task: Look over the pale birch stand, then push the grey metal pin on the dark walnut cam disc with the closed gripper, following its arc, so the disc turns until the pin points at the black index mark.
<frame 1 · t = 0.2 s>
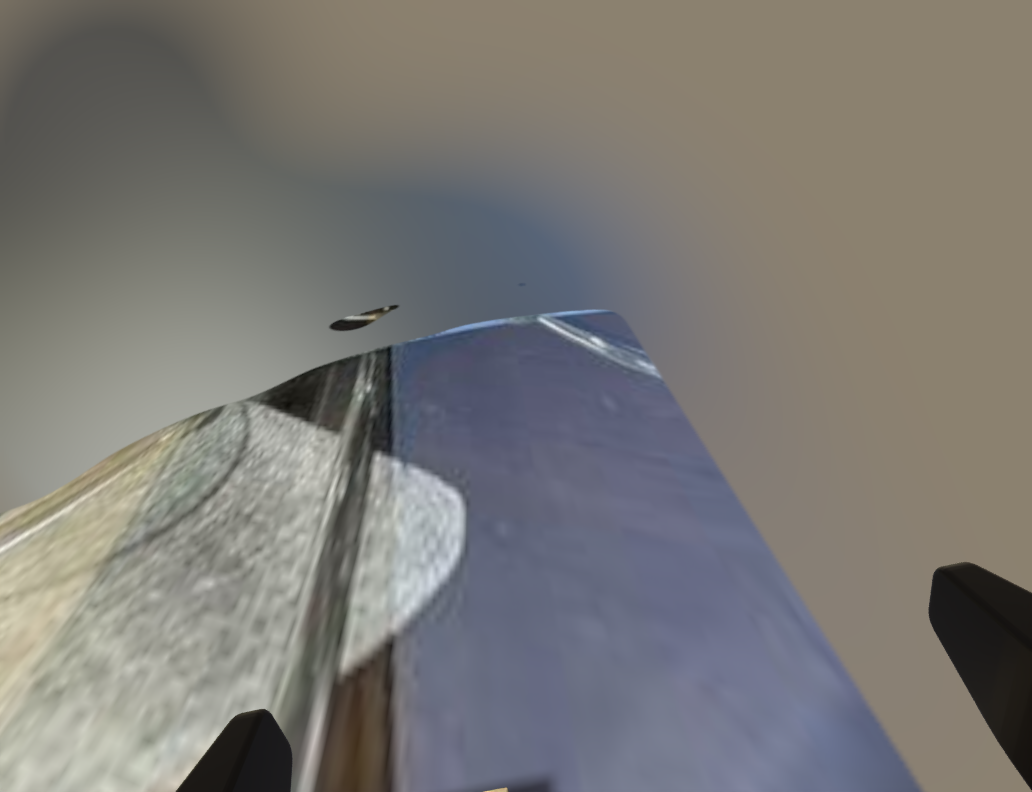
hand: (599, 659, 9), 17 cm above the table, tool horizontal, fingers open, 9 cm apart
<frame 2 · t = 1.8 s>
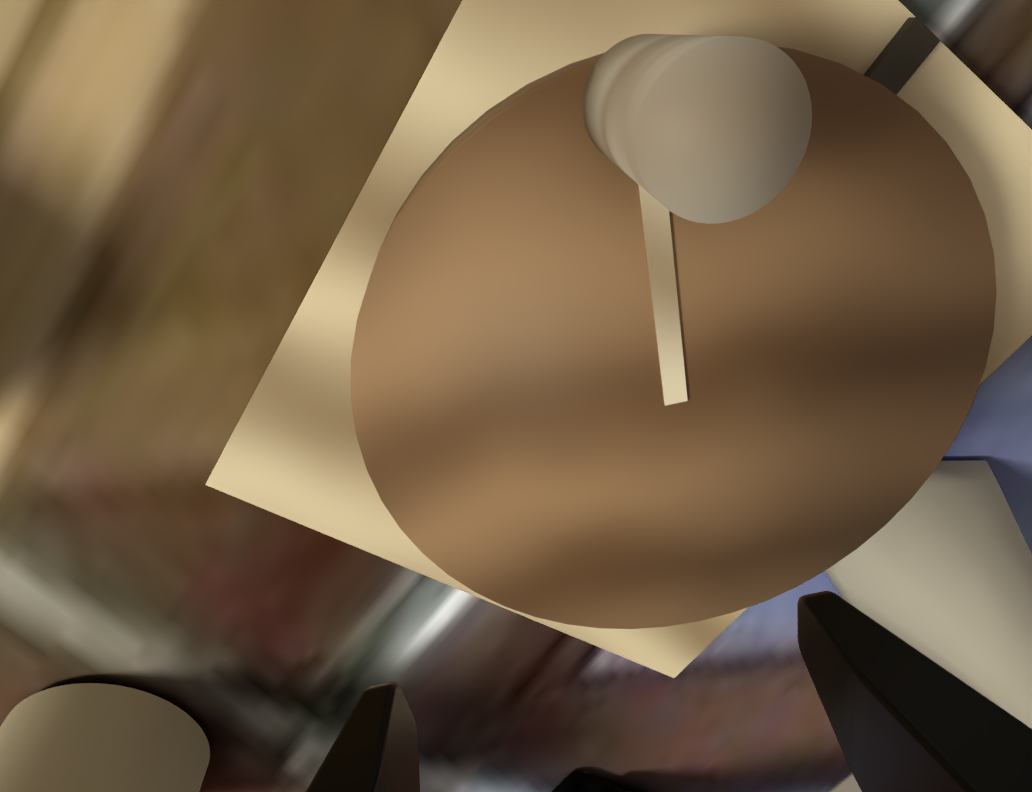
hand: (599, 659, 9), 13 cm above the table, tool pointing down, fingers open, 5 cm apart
cam disc: (692, 425, 17), point 5 cm above the table, hinge at 45.0°
stand: (641, 343, 21), on the table
flask: (904, 527, 26), on the table
travel mug: (115, 735, 28), on the table
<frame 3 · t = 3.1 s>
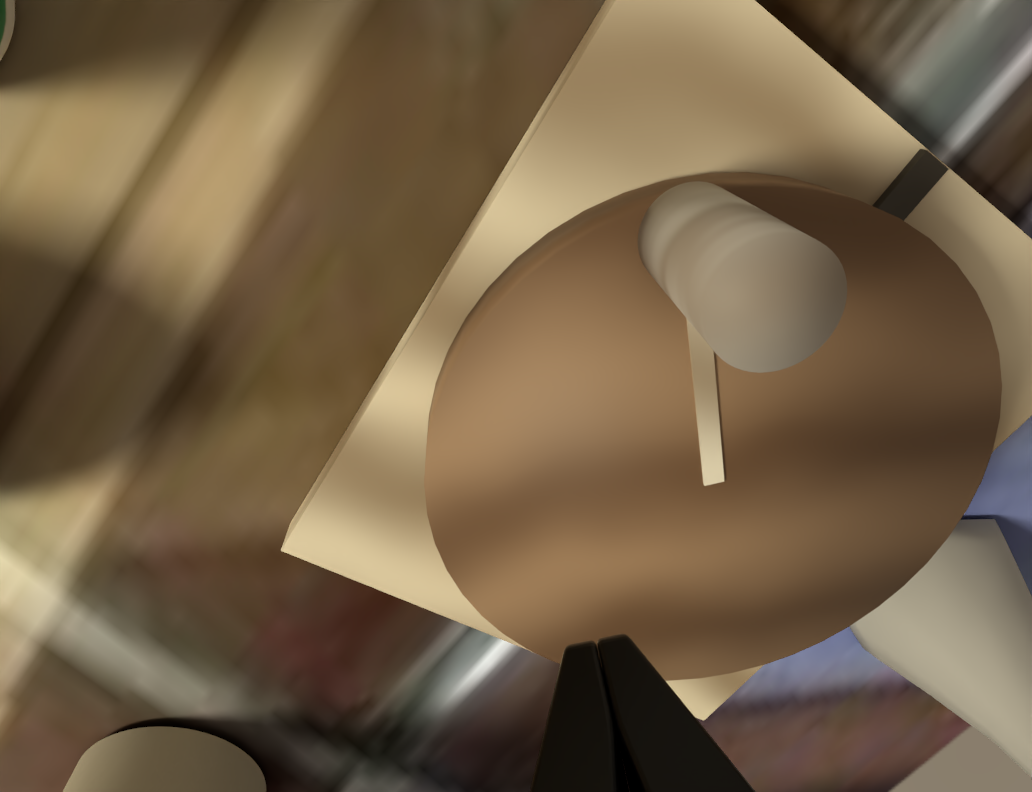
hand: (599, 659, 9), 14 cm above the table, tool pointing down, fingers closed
cam disc: (731, 508, 19), point 5 cm above the table, hinge at 45.0°
stand: (676, 418, 23), on the table
flask: (918, 578, 28), on the table
travel mug: (177, 773, 30), on the table
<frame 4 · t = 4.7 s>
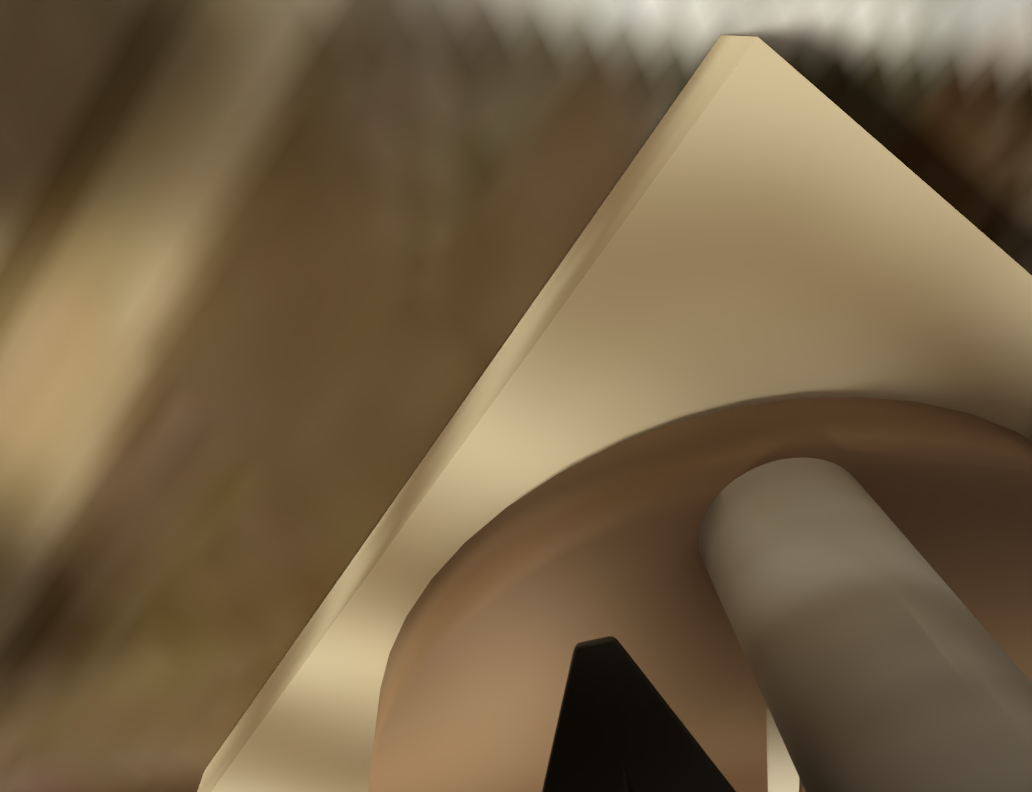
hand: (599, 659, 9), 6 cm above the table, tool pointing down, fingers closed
stand: (721, 652, 17), on the table
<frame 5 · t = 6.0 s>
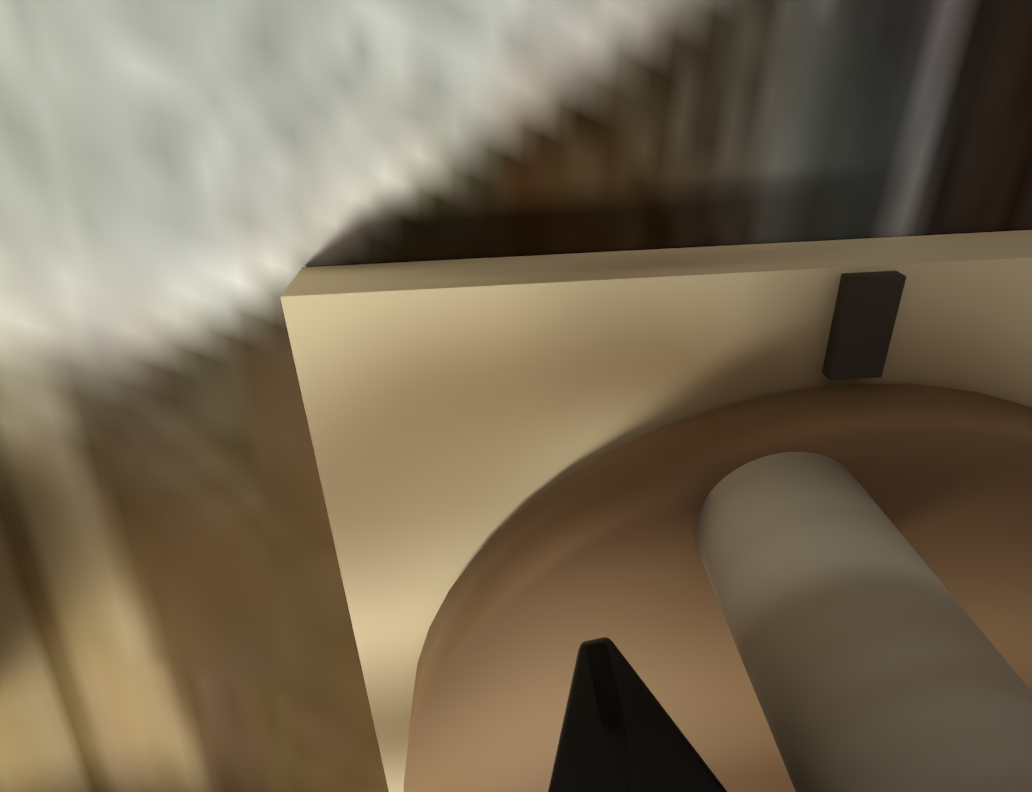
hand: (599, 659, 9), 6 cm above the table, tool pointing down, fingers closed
stand: (753, 645, 17), on the table
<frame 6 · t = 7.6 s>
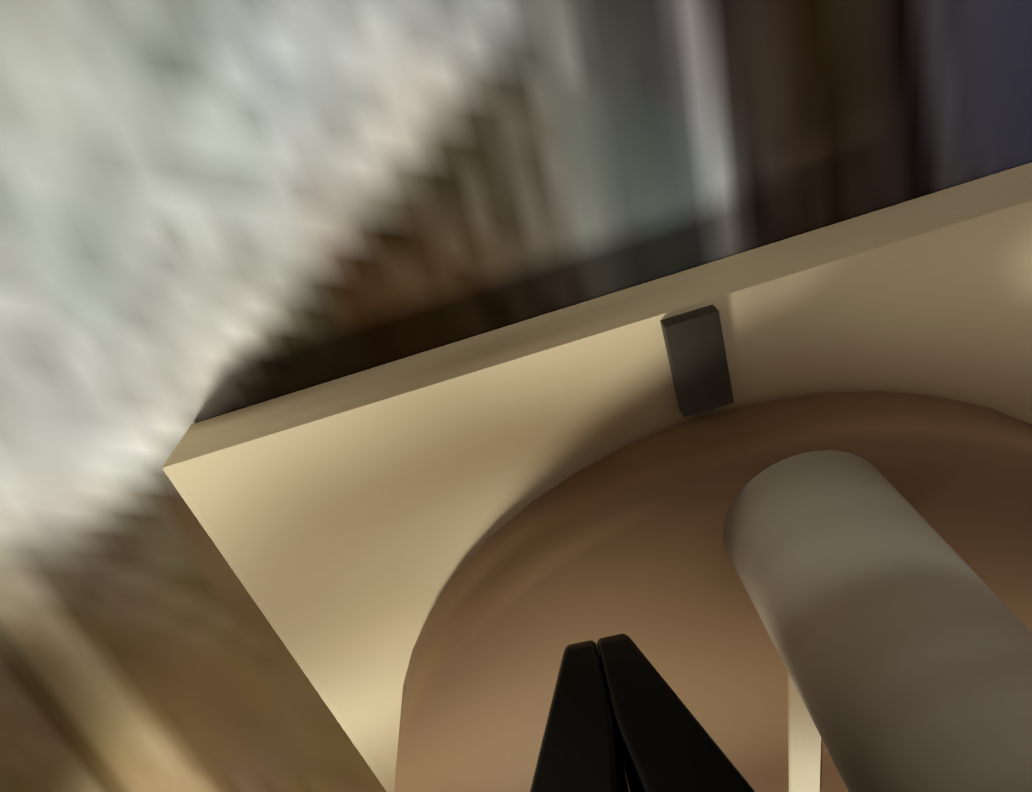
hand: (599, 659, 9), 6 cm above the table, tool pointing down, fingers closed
stand: (737, 647, 17), on the table
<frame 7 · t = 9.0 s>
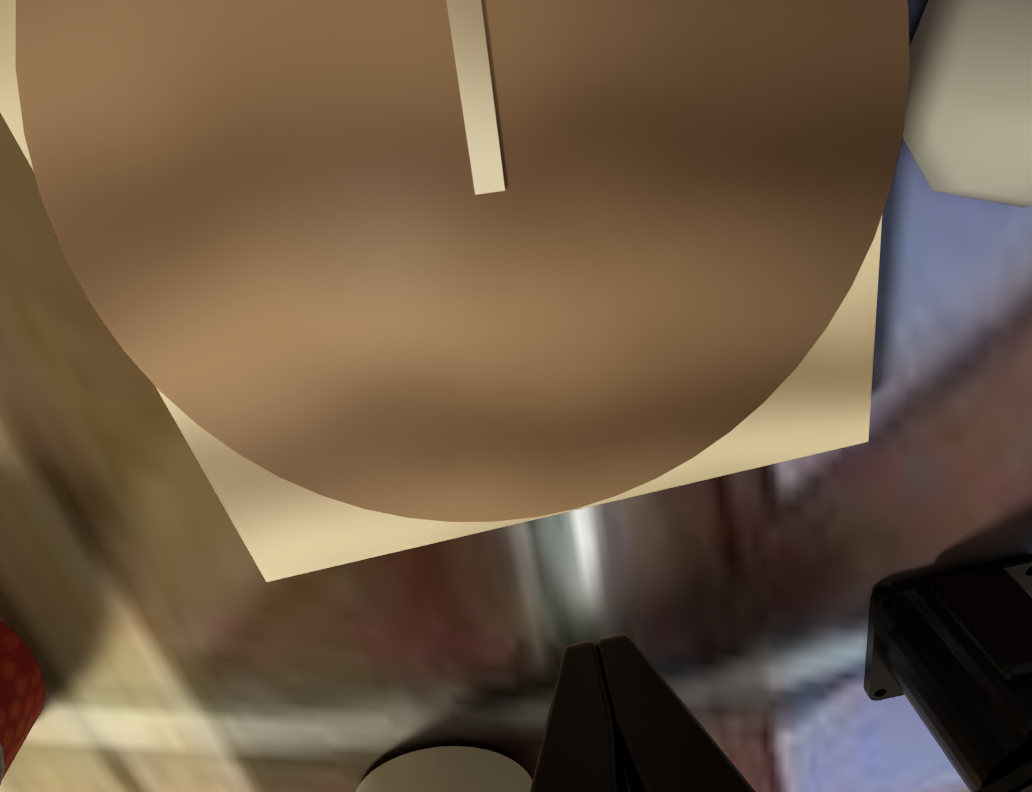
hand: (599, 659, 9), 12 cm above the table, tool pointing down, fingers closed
cam disc: (493, 202, 12), point 5 cm above the table, hinge at -5.4°
stand: (480, 156, 17), on the table
flask: (1023, 57, 17), on the table
travel mug: (444, 789, 30), on the table
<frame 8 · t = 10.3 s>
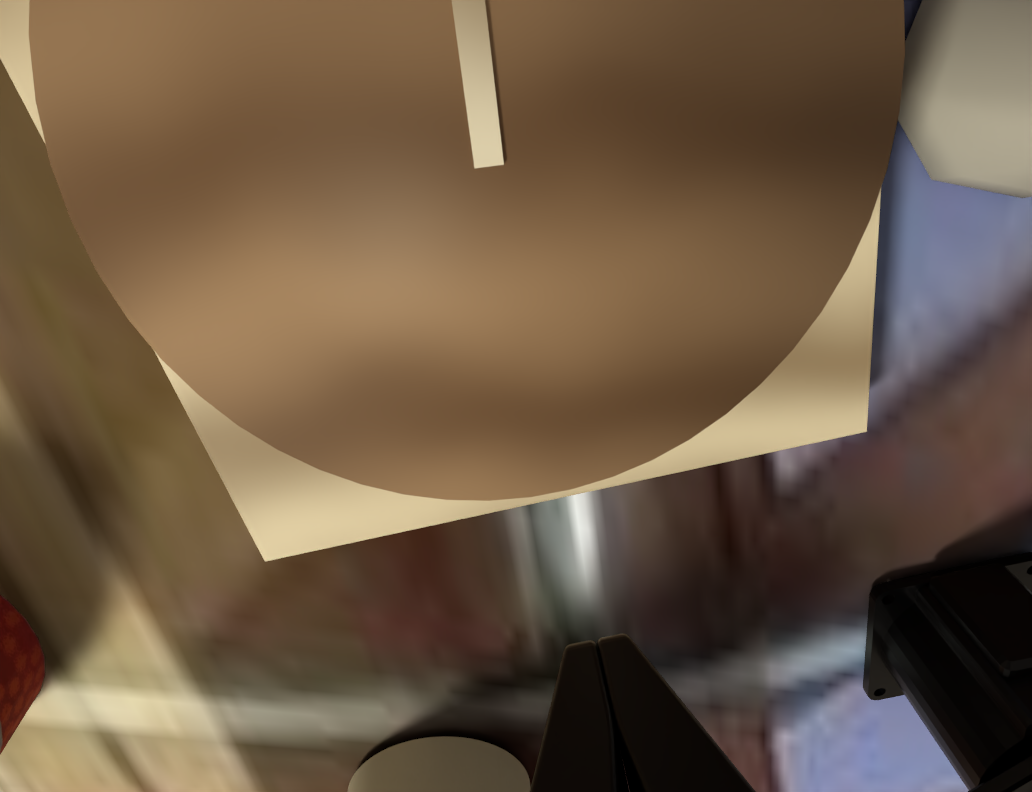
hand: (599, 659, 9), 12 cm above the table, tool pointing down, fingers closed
cam disc: (491, 172, 12), point 5 cm above the table, hinge at -5.4°
stand: (482, 138, 17), on the table
flask: (1022, 47, 17), on the table
travel mug: (440, 781, 30), on the table
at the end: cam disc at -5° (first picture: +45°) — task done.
